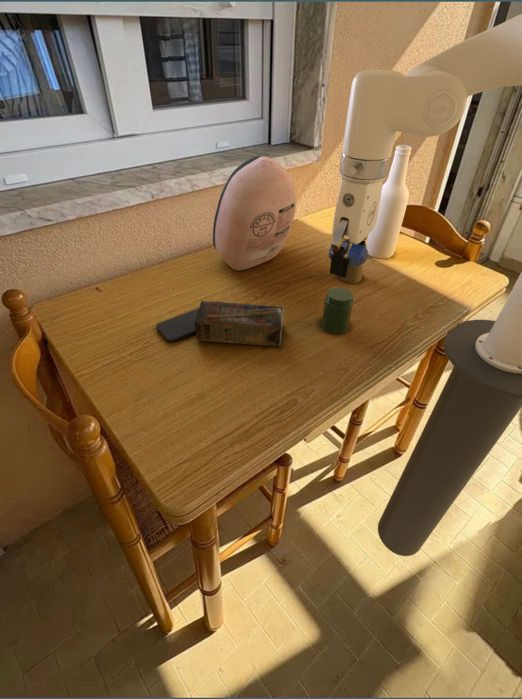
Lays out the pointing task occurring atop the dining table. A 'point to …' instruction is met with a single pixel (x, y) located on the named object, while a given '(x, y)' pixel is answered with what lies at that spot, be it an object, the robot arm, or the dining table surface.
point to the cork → (354, 273)
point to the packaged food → (254, 213)
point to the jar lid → (354, 254)
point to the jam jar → (337, 310)
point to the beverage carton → (239, 323)
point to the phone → (178, 326)
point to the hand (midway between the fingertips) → (346, 265)
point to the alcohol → (391, 207)
